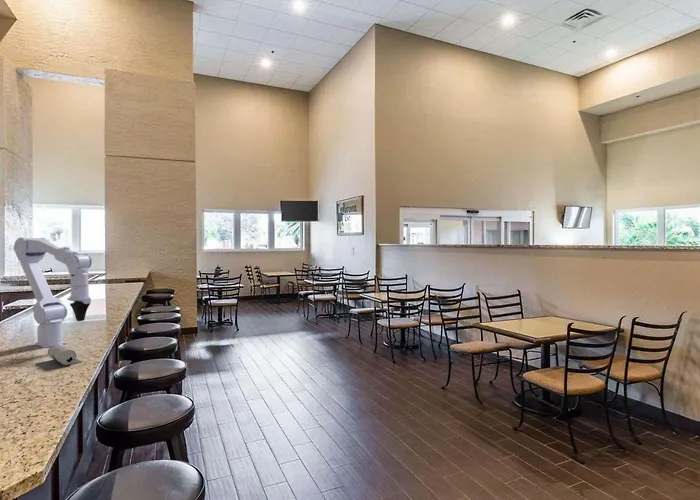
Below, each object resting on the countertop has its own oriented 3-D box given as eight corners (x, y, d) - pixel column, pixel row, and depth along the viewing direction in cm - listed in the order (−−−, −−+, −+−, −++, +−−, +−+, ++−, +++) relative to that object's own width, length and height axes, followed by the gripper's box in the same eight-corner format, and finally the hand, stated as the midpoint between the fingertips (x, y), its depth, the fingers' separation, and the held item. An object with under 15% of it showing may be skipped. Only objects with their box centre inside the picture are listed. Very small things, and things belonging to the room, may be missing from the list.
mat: (35, 364, 134) (35, 363, 134) (70, 357, 142) (70, 356, 142) (46, 369, 128) (46, 368, 128) (82, 362, 137) (81, 361, 137)
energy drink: (53, 361, 139) (64, 368, 131) (43, 350, 137) (54, 356, 129) (69, 351, 143) (80, 357, 135) (60, 339, 141) (71, 345, 133)
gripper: (60, 285, 155) (61, 320, 156) (75, 287, 147) (76, 324, 147) (80, 283, 161) (81, 317, 162) (96, 286, 153) (97, 321, 153)
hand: (80, 320), depth 155 cm, fingers closed
